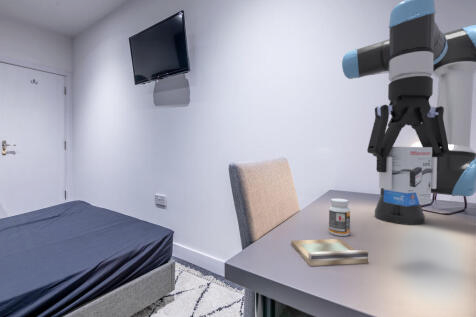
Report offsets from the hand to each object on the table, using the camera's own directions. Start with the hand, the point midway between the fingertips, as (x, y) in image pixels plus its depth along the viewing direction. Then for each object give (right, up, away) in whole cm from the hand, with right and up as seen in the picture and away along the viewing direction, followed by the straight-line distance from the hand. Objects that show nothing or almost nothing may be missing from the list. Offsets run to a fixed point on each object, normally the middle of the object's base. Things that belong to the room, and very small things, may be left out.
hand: (407, 188), depth 51 cm
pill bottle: (-6, -16, +21) cm, 27 cm away
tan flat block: (-14, -16, +7) cm, 23 cm away
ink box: (0, -3, 0) cm, 3 cm away
